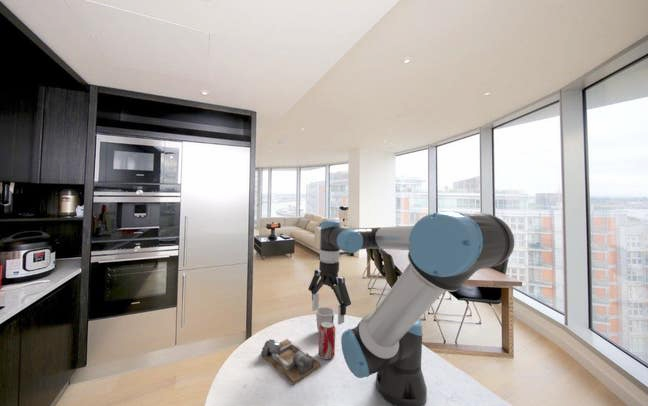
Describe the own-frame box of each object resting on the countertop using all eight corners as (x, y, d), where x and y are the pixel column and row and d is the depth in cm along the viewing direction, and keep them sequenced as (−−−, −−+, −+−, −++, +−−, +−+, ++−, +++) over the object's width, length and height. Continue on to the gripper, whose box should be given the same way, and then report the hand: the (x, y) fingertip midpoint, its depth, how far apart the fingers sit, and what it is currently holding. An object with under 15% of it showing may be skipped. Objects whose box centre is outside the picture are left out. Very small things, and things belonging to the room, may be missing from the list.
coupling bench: (320, 366, 81) (321, 352, 81) (293, 384, 73) (294, 368, 73) (287, 341, 96) (287, 329, 96) (261, 354, 87) (261, 340, 87)
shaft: (282, 350, 88) (283, 339, 88) (276, 359, 83) (276, 348, 83) (269, 347, 90) (269, 337, 90) (262, 356, 84) (262, 345, 84)
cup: (333, 339, 99) (334, 315, 99) (314, 338, 99) (315, 315, 99) (333, 329, 107) (334, 307, 107) (315, 328, 107) (316, 306, 107)
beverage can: (333, 362, 84) (334, 329, 84) (316, 359, 85) (317, 327, 85) (335, 351, 90) (336, 321, 90) (320, 349, 92) (321, 318, 92)
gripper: (362, 266, 82) (359, 325, 82) (314, 253, 100) (312, 302, 100) (348, 270, 77) (346, 333, 77) (301, 255, 94) (299, 307, 94)
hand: (327, 316), depth 88 cm, fingers open, 13 cm apart
